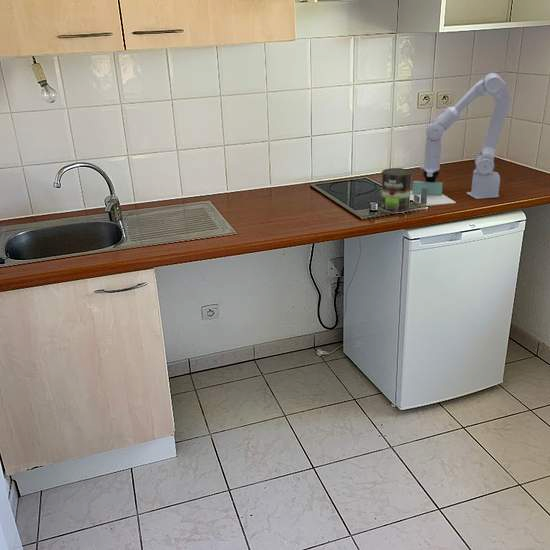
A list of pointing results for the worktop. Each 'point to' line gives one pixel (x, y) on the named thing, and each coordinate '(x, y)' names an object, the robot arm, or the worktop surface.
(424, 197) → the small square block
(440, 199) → the base board
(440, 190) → the gate
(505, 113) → the robot arm
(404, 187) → the coffee can
